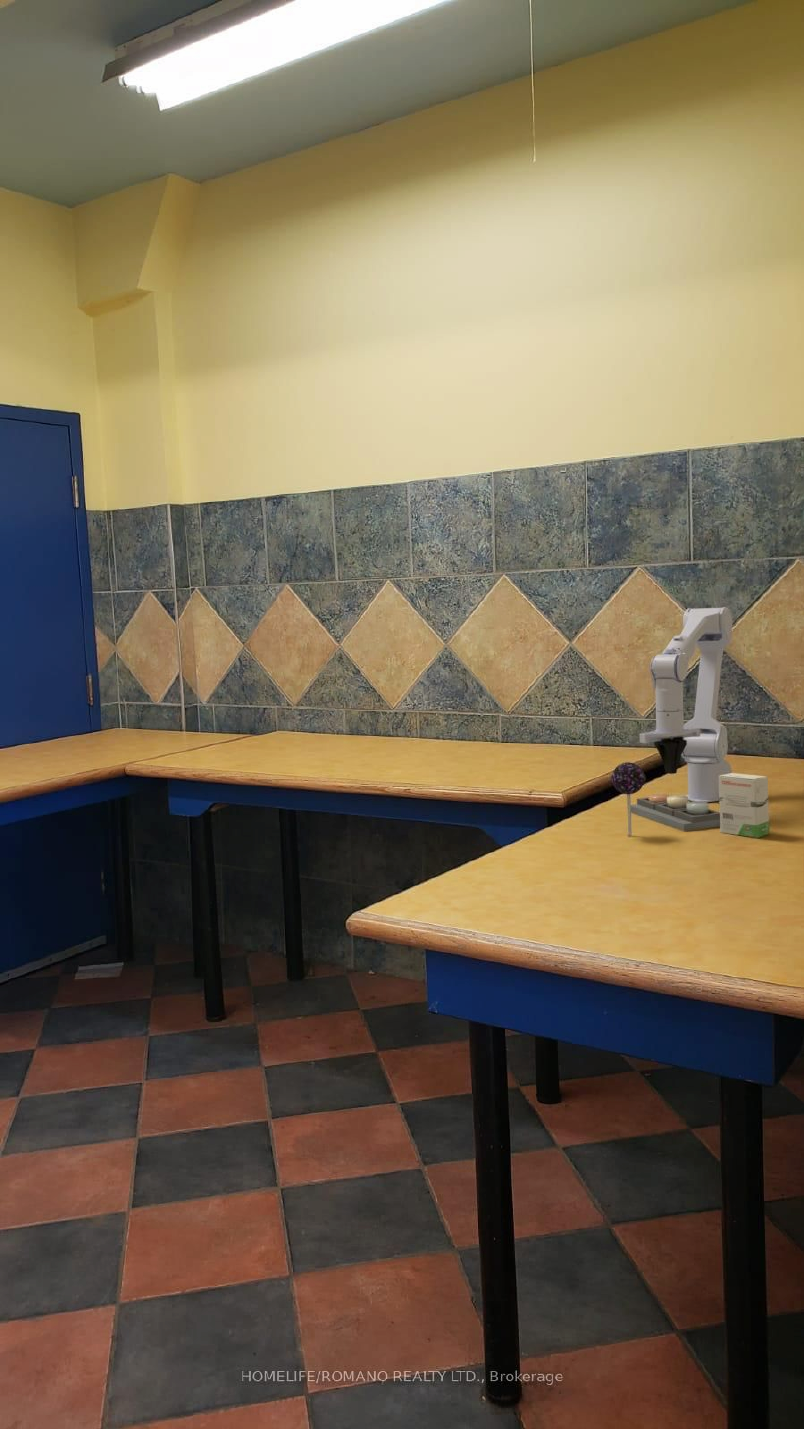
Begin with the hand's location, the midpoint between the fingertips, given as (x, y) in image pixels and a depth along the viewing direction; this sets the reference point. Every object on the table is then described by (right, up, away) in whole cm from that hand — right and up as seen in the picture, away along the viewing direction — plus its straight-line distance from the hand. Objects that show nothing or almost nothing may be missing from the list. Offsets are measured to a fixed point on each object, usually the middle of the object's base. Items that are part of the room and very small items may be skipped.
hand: (671, 773), depth 232 cm
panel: (+1, -10, -1) cm, 10 cm away
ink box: (+10, -11, -17) cm, 23 cm away
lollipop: (-12, -12, -14) cm, 22 cm away
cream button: (+1, -7, -1) cm, 7 cm away
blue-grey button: (+3, -8, -8) cm, 12 cm away
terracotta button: (-1, -7, +6) cm, 9 cm away
